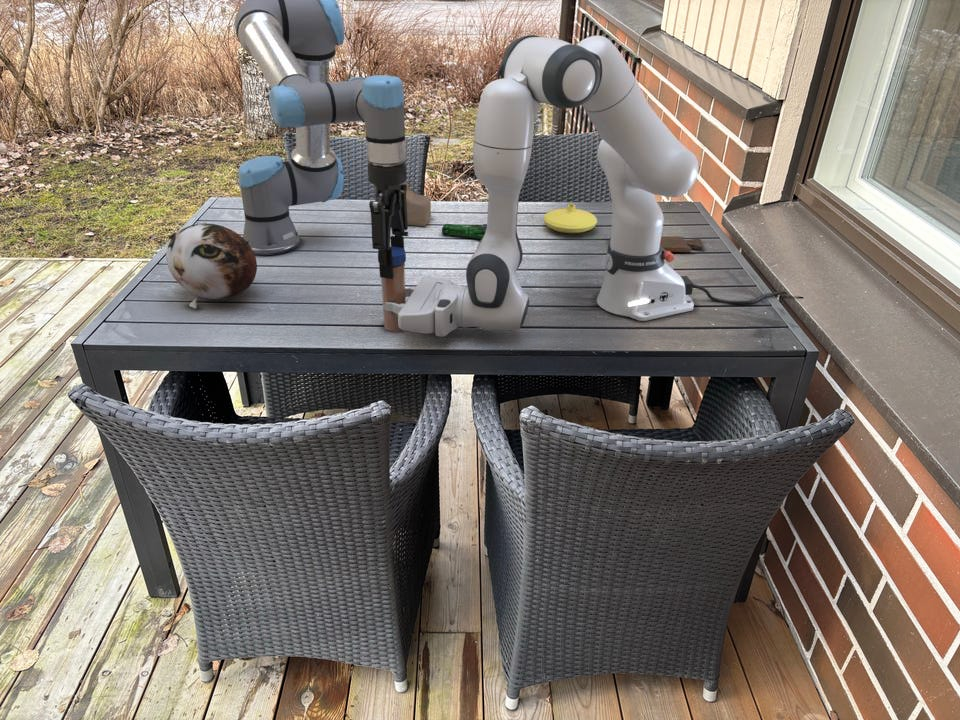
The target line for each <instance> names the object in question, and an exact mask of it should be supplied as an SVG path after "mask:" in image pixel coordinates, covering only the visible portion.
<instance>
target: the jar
mask: <svg viewBox="0 0 960 720" xmlns="http://www.w3.org/2000/svg"><path fill="white" fill-rule="evenodd" d="M405 273H406V272H405V266H404V264H402V265H399V266H393V278H392V279H389V278H382V277H380V282H381V283H380V284H381V299H382V314H383V316H382V317H383V327H384V329H385V330H386V331H389V332H401V331H403V330H402V329H400V328H399V326H398V314H396V313H394V312H393V311H386V310H385V303H386V302H387V301H388V300H389V301H394V303H396V304H399V305H400V304H405V303H406V301H407V297H406V292H405V288H406V274H405Z"/></svg>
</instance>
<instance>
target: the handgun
mask: <svg viewBox="0 0 960 720" xmlns="http://www.w3.org/2000/svg"><path fill="white" fill-rule="evenodd" d="M486 229H487V223H483V224H482V225H479V224H472V225H459V224H453V223H445V224H443V226H442V227H441V235H446V236H454V237H462V238H469V239H470V238H471V239H474V240H479V241H481V239H482V237H483V236H484V234H485V232H486Z"/></svg>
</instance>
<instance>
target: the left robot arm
mask: <svg viewBox="0 0 960 720" xmlns="http://www.w3.org/2000/svg"><path fill="white" fill-rule="evenodd" d="M234 30H235V35H236V38H237V41H238V42H239V44H240V46H241V47H242V49H243V50H244V51H245V52H246V53H247V54H249V55H251V56H252V57H253V59H254V61H255V62H256V65H257V66H258V68H259V69H260V72H261V73H262V75H263V76H264V79H265V80H266V82H267V84H268V85H269V87H270V88H271V89H269V94H268V100H269V107H270V113H271V115H272V119H273V121H274V123H275V124H276V126H278V127H279V128H295V139H296V140H295V143H296V147H294V148H293V149H292V151H291V154H290V159H291V160H285V161H284V160H283V158H282V157H281V156H279V155H263V156H258V157H255V158H251V159H248V160H246V161H245V162H243V163H241V165H240V166H239V167H238V170H237V174H238V186H239V189H240V194H241V195H240V196H241V201H242V207H243V212H244V213H243V215H244V219H245V220H244V226H243V228H244V229H243V235H242V237H243V238H244V239H245V240H246V241H249V242H248V244H249V245H250V247H251V248H252V250H253V252H254V254H255V256H256V255H257V256H275V255H281V254H282V255H283V254H285V253H289V252H291V251H293V250H296V249H297V248H298V247H299V246H300V244H301V241H300V235H299V233H298V231H297V229H296V227H295V225H294V223H293V220H292V218H291V216H290V207H292V206H293V207H294V206H300V205H306V204H308V205H309V204H314V203H326V202H328V201H333V200H334V201H335V200H337V199H338V198H339V197H340V196H341V195H342V192H343V190H344V184H345V180H344V179H345V175H344V167H343V164H342V160H341V159H340V158H339V157H338V156H337V154H336V153H335V151H334V150H333V149H332V148H331V124H343V123H352V122H363V123H364V132H365V139H366V140H365V143H364V147H365V148H366V156H367V157H366V159H367V161H368V163H367V177H368V182H369V183H370V184H372V185H374V187H375V186H376V192H375V200H369V203H368V205H369V206H368V207H369V209H370V223H371V243H372V249H373V250H377V255H378V254H379V262H378V267H379V269H378V270H379V278H381V277H382V278H389V279H392V278H393V260H392V248H390V247H400V248H403V249H404V250H405V237H408V236H409V231H408V229H409V225H408V219H407V202H406V190H407V185H408V184H407V185H406V184H403V183H404V182H407V180H408V175H407V174H408V173H407V170H408V169H407V163H406V162H405V161H406V160H407V142H406V141H407V140H406V124H405V123H406V121H405V101H406V99H405V94H404V86H403V81H402V79H401V78H399V77H398V76H394V75H393V76H392V75H390V74H389V75H388V74H377V75H369V76H366V77H364V76H362V77H361V76H354V77H351V78H348V79H347V80H344V81H330V62H331V61H332V60H333V59H334V58H335V57H336V52H337V51H336V48H337V47H339V46H341V45H343V44H344V41H345V26H344V20H343V15H342V11H341V9H340V6H339V3H338V1H337V0H245V1H244V2H243V3H242V4H241V6H240V7H239V8H238V11H237V13H236V16H235V21H234ZM336 46H337V47H336ZM385 210H388V211H385ZM403 223H404V224H403ZM177 233H178V232H174V233H172V234H171V235H169V236H168V238H167V239H168V240H171V239H172V238H173V237H174V235H176V234H177ZM391 234H392V235H391ZM405 266H406V262H405V263H404V267H405Z"/></svg>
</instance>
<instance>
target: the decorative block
mask: <svg viewBox="0 0 960 720" xmlns="http://www.w3.org/2000/svg"><path fill="white" fill-rule="evenodd" d="M403 184H406V185H407V190H406V202H407V219H408V226H417V227H418V226H419V227H426V226H427V225H428V224H429V222H430V220H431V217H432V207H431V206H432V205H431V201H432V200H431V197H430V196H428V195H423V194H418V193H415V192H414V191H412V190H411V189H410V187H409V185H408V182H407V181H406V182H404V183H403ZM374 189H375V193H376V186H375V185H374ZM385 211H388V210H385ZM403 224H404V223H403Z"/></svg>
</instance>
